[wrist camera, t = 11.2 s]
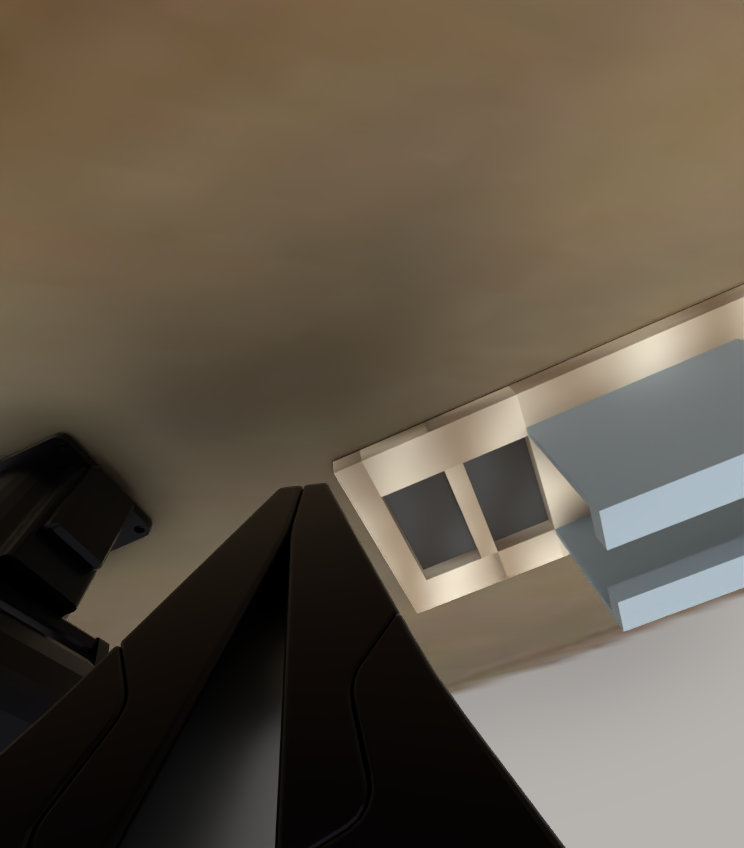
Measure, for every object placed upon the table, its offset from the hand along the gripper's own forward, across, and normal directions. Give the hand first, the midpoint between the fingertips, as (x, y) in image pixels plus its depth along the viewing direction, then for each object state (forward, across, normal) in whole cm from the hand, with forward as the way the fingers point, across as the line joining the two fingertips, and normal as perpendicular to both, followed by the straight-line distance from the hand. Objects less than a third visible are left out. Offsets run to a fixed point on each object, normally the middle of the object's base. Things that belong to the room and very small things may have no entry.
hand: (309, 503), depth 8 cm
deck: (+12, +13, -11) cm, 21 cm away
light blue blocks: (+13, +15, -10) cm, 22 cm away
